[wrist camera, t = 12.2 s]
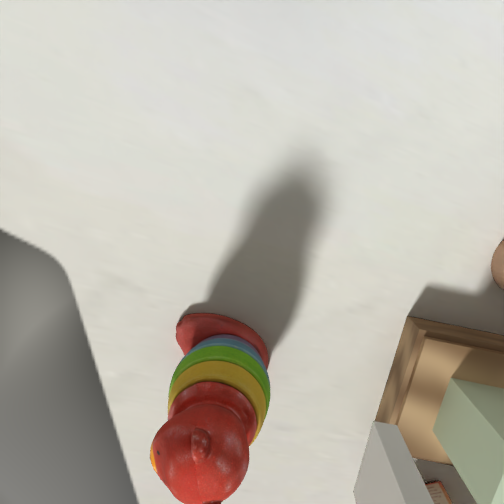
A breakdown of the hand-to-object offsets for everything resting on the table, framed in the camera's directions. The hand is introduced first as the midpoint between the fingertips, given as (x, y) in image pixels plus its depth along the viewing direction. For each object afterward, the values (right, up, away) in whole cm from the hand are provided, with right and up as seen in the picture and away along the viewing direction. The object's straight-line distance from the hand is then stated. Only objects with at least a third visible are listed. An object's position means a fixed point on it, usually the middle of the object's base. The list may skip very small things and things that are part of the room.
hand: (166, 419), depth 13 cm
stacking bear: (0, -6, +31) cm, 31 cm away
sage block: (+24, -10, +26) cm, 37 cm away
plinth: (+25, -9, +30) cm, 40 cm away
